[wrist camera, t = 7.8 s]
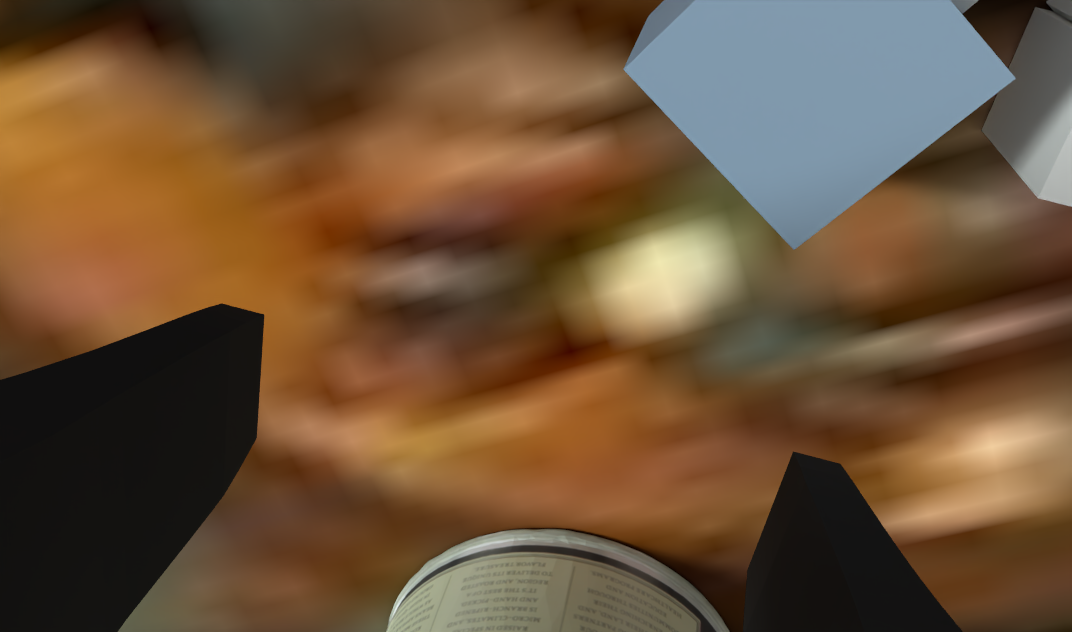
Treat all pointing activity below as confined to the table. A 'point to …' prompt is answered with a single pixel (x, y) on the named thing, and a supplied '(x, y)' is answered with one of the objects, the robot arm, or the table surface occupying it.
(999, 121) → the port
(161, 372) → the robot arm
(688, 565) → the table surface
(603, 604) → the coffee can
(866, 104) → the plug
